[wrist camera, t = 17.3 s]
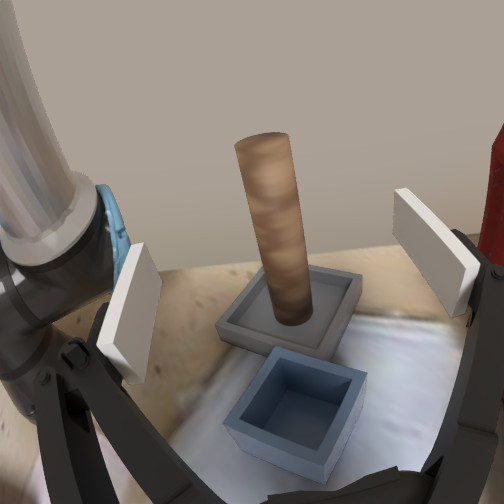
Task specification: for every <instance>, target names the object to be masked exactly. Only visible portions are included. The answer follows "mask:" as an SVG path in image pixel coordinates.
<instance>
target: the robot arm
mask: <svg viewBox="0 0 504 504" xmlns="http://www.w3.org/2000/svg"><path fill="white" fill-rule="evenodd" d="M0 225H1V226H2V227H1V234H0V381H1V382H2V384H3V386H4V388H5V389H6V391H7V393H8V395H9V396H10V398H11V400H12V401H13V403H14V405H15V406H16V408H17V410H18V411H19V412H20V413H21V414H22V415H23V416H24V417H25V418H26V419H28V420H29V421H30V422H31V423H33V424H35V425H37V432H38V440H39V447H40V453H41V459H42V465H43V470H44V475H45V480H46V485H47V489H48V493H49V497H50V501H51V504H120V503H119V501H118V498H117V495H116V493H115V490H114V487H113V485H112V482H111V479H110V476H109V473H108V471H107V468H106V465H105V462H104V458H103V455H102V452H101V449H100V445H99V442H98V439H97V435H96V431H95V428H94V424H93V420H92V416H91V412H92V414H93V416H94V417H95V419H96V421H97V423H98V424H99V426H100V428H101V429H102V431H103V433H104V434H105V436H106V437H107V439H108V441H109V442H110V444H111V445H112V447H113V448H114V450H115V451H116V453H117V454H118V456H119V457H120V459H121V460H122V462H123V463H124V465H125V466H126V468H127V469H128V470H129V472H130V473H131V475H132V476H133V477H134V479H135V480H136V481H137V483H138V484H139V485H140V487H141V488H142V489H143V491H144V492H145V493H146V495H147V496H148V497H149V498H150V500H151V501H152V502H153V503H154V504H227V503H226V502H224V501H223V500H222V499H221V498H219V497H218V496H217V495H216V494H215V493H214V492H213V491H212V490H211V489H210V488H209V487H208V486H207V485H206V484H205V483H204V482H203V481H202V480H201V479H200V478H199V477H198V476H197V475H196V474H195V473H194V472H193V471H192V470H191V469H190V468H189V466H188V465H187V464H186V463H185V462H184V461H183V460H182V459H181V458H180V457H179V456H178V454H177V453H176V452H175V451H174V450H173V449H172V448H171V447H170V445H169V444H168V443H167V442H166V441H165V440H164V438H163V437H162V436H161V435H160V434H159V433H158V431H157V430H156V429H155V428H154V426H153V425H152V424H151V423H150V422H149V420H148V419H147V418H146V416H145V415H144V414H143V413H142V411H141V410H140V409H139V407H138V406H137V405H136V404H135V402H134V401H133V400H132V398H131V397H130V396H129V394H128V393H127V391H126V390H125V389H124V388H123V386H122V385H121V384H122V378H124V379H125V381H126V382H127V383H128V384H129V385H132V384H145V378H146V371H147V365H148V358H149V352H150V346H151V340H152V335H153V329H154V324H155V318H156V313H157V308H158V302H159V297H160V292H161V287H162V283H163V282H162V280H161V278H160V276H159V273H158V271H157V269H156V267H155V265H154V263H153V261H152V258H151V256H150V254H149V252H148V249H147V247H146V245H145V243H144V242H142V243H138V244H134V245H131V243H130V240H129V237H128V235H127V233H126V231H125V226H124V222H123V219H122V216H121V213H120V211H119V208H118V205H117V203H116V200H115V198H114V196H113V193H112V191H111V189H110V188H109V186H108V185H106V184H101V185H95V186H94V184H93V182H92V181H91V180H90V179H89V178H88V177H87V176H86V175H84V174H82V173H80V172H76V171H71V170H70V168H69V166H68V164H67V161H66V159H65V157H64V155H63V153H62V150H61V148H60V145H59V143H58V141H57V138H56V136H55V134H54V131H53V129H52V126H51V124H50V121H49V119H48V116H47V114H46V111H45V109H44V106H43V103H42V100H41V98H40V95H39V92H38V90H37V87H36V84H35V81H34V78H33V75H32V72H31V69H30V66H29V63H28V60H27V56H26V53H25V50H24V46H23V43H22V40H21V36H20V32H19V29H18V25H17V21H16V17H15V13H14V9H13V4H12V0H0ZM393 235H394V236H395V238H396V239H397V240H398V241H399V243H400V245H401V246H402V247H403V249H404V250H405V251H406V253H407V254H408V255H409V257H410V258H411V260H412V261H413V262H414V264H415V265H416V267H417V268H418V269H419V271H420V272H421V274H422V275H423V277H424V278H425V279H426V281H427V282H428V284H429V285H430V287H431V288H432V290H433V291H434V293H435V294H436V296H437V297H438V299H439V300H440V302H441V303H442V305H443V306H444V308H445V310H446V311H447V313H448V314H449V316H450V317H451V318H454V317H456V316H459V315H462V314H465V311H466V308H467V305H468V304H469V305H470V307H471V308H472V312H471V315H470V317H469V320H468V322H467V325H466V327H468V331H467V336H466V340H465V345H464V350H463V354H462V358H461V362H460V366H459V370H458V374H457V378H456V381H455V385H454V388H453V392H452V395H451V398H450V401H449V405H448V408H447V411H446V414H445V417H444V420H443V422H442V425H441V428H440V431H439V433H438V436H437V439H436V441H435V444H434V446H433V449H432V451H431V453H430V455H429V456H428V458H427V460H426V462H425V463H424V465H423V467H422V469H421V471H420V472H416V471H405V470H401V471H398V467H397V466H395V467H392V468H389V469H386V470H382V471H379V472H376V473H373V474H369V475H366V476H364V477H363V478H361V479H359V480H357V481H355V482H353V483H351V484H349V485H347V486H345V487H343V488H341V489H339V490H337V491H295V492H288V493H282V494H275V495H267V496H268V500H267V501H265V502H262V503H260V504H478V502H479V499H480V497H481V494H482V491H483V489H484V486H485V483H486V480H487V477H488V474H489V471H490V468H491V465H492V462H493V458H494V455H495V452H496V448H497V444H498V435H497V434H496V433H495V428H496V424H497V420H498V415H499V411H500V406H501V401H502V396H503V390H504V266H501V265H497V264H491V263H490V261H489V260H488V259H487V258H486V257H485V256H484V255H483V254H482V253H481V251H480V250H479V249H478V248H477V247H475V245H474V244H473V243H472V242H470V240H469V239H468V238H467V237H466V235H465V234H463V233H461V232H460V231H458V230H456V229H453V230H449V229H448V228H447V227H446V226H445V225H444V223H443V222H442V221H441V220H440V219H439V218H438V217H437V216H436V215H435V214H434V213H433V212H432V211H431V210H430V209H429V208H427V207H426V206H425V205H424V204H423V203H422V202H421V201H420V200H419V199H418V198H417V197H416V196H415V195H414V194H413V193H412V192H411V191H409V190H408V189H407V188H402V189H397V190H394V216H393ZM111 293H113V295H112V298H111V301H110V302H108V303H103V305H102V306H101V307H100V309H99V310H98V311H97V314H96V317H95V319H94V321H95V322H93V325H92V329H91V331H90V334H89V337H88V340H87V343H85V342H84V340H82V339H81V338H78V337H76V338H72V337H70V336H69V335H67V334H66V333H64V332H63V331H61V330H60V329H58V328H57V327H55V326H54V325H52V323H53V322H55V321H57V320H59V319H60V318H62V317H64V316H66V315H68V314H70V313H72V312H73V311H75V310H77V309H79V308H81V307H83V306H85V305H87V304H89V303H91V302H93V301H95V300H97V299H99V298H101V297H103V296H105V295H107V294H111ZM90 410H91V412H90Z"/></svg>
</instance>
